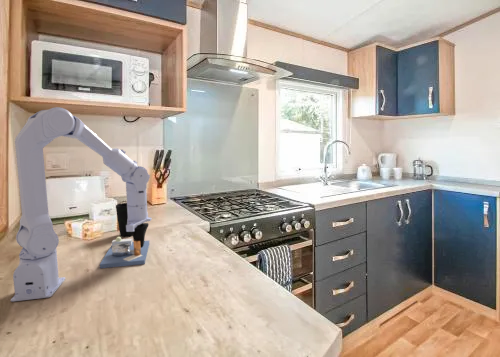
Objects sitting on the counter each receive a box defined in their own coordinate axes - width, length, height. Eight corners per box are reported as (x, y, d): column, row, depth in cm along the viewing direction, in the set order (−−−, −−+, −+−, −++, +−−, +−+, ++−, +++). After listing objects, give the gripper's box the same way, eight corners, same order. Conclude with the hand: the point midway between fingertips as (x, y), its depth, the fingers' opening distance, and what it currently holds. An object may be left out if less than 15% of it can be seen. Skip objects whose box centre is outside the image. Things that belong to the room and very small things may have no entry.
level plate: (144, 264, 84) (144, 250, 84) (100, 268, 81) (99, 254, 80) (149, 243, 101) (149, 232, 101) (112, 246, 98) (112, 235, 98)
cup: (130, 238, 107) (129, 207, 106) (112, 237, 108) (111, 206, 107) (142, 232, 114) (141, 203, 113) (125, 231, 116) (124, 202, 115)
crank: (108, 255, 87) (108, 241, 86) (118, 249, 92) (117, 236, 91) (136, 257, 85) (135, 243, 85) (144, 251, 90) (144, 238, 90)
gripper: (143, 210, 81) (145, 255, 82) (156, 199, 95) (158, 238, 97) (117, 210, 80) (120, 256, 82) (134, 199, 94) (137, 239, 96)
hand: (139, 246), depth 89 cm, fingers closed, pressing on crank
